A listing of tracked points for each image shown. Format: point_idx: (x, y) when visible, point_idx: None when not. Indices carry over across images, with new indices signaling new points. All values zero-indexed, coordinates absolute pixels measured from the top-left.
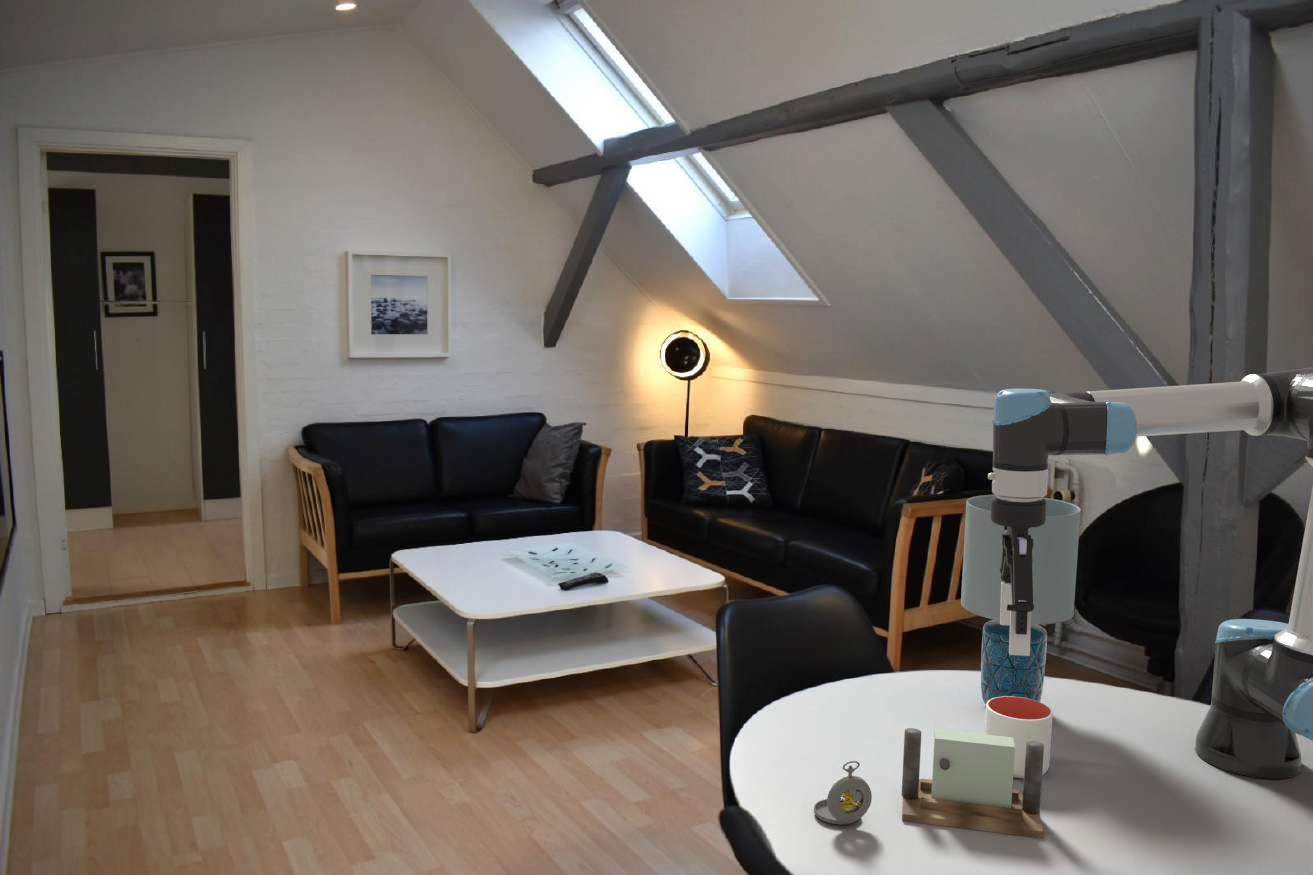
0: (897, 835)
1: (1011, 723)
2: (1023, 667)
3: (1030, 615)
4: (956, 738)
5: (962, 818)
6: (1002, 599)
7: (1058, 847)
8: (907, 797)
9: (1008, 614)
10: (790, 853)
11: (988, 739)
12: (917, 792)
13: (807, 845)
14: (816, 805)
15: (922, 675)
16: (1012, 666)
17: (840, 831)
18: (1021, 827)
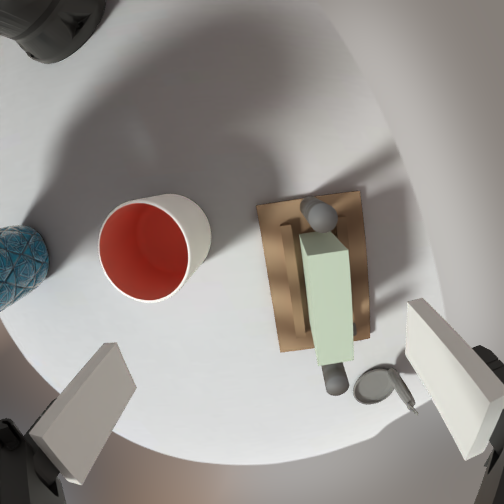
0: (397, 331)
1: (193, 259)
2: (8, 257)
3: (497, 381)
4: (344, 335)
5: (361, 280)
6: (103, 440)
7: (371, 173)
8: None
9: (114, 391)
10: None
11: (331, 292)
12: None
13: None
14: (369, 402)
15: (19, 340)
16: (12, 271)
17: (401, 373)
18: (359, 215)
